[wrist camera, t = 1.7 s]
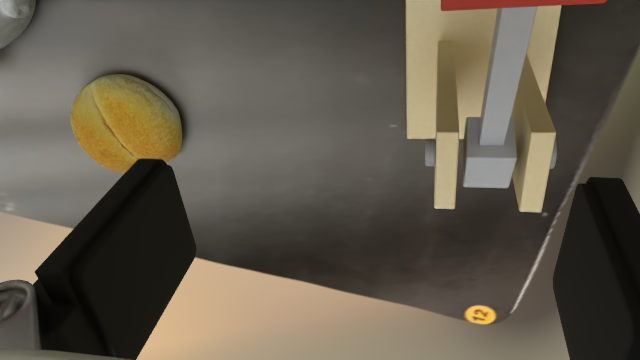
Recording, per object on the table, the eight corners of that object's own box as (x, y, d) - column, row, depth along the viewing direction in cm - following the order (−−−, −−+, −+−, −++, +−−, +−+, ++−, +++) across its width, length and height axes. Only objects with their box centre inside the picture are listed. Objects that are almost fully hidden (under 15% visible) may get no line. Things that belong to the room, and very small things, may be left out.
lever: (442, -55, 16) (441, -5, 15) (608, -68, 15) (621, -15, 14) (435, 147, 27) (434, 186, 26) (534, 149, 26) (538, 189, 24)
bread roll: (204, 141, 41) (185, 168, 38) (127, 169, 45) (103, 196, 42) (145, 52, 37) (118, 74, 34) (65, 91, 41) (34, 114, 38)
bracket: (406, -8, 31) (389, 74, 21) (560, -17, 29) (624, 69, 19) (407, 130, 37) (395, 248, 27) (536, 131, 35) (576, 258, 25)
